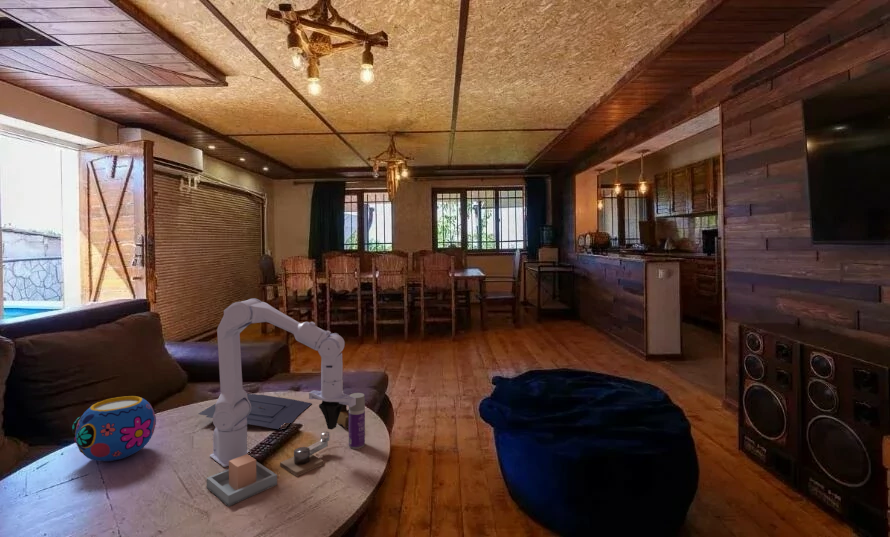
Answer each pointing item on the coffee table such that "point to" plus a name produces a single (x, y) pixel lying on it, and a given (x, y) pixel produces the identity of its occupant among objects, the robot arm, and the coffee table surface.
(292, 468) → the crank base
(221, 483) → the tray
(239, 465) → the block
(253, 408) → the dark grey flat slab
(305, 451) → the crank
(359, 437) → the container
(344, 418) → the wooden carving
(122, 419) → the ceramic pot
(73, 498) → the coffee table surface
